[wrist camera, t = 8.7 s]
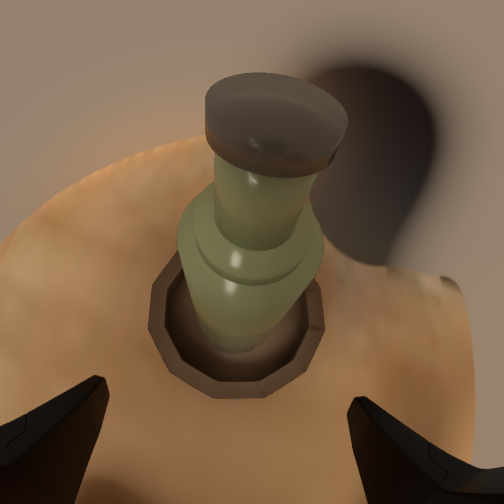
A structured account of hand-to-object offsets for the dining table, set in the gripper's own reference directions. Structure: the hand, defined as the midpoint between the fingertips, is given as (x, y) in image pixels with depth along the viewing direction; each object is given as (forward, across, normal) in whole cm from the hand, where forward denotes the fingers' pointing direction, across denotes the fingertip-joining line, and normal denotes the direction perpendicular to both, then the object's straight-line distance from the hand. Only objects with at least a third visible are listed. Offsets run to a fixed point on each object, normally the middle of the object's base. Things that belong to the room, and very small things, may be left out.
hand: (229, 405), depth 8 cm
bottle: (+9, 0, +2) cm, 9 cm away
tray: (+10, 0, +2) cm, 10 cm away
